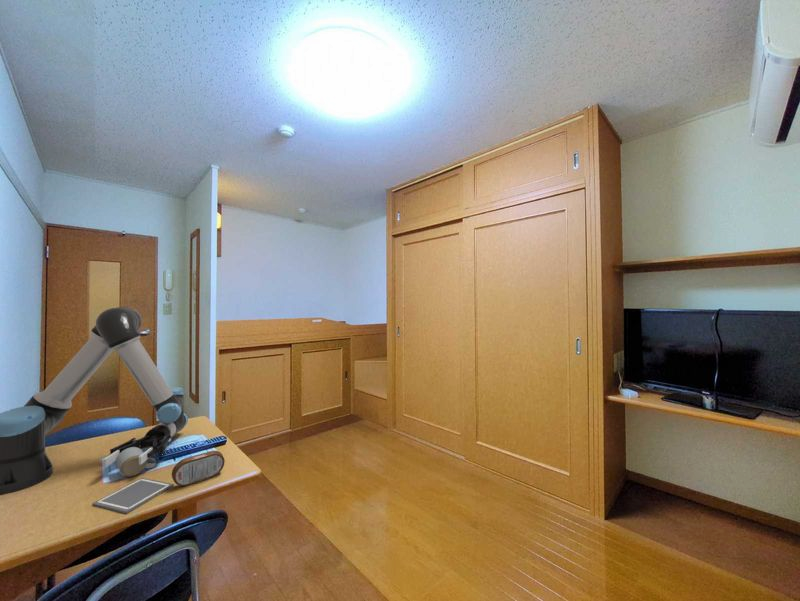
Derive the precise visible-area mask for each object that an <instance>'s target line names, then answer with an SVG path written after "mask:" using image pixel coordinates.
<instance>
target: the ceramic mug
mask: <svg viewBox="0 0 800 601" xmlns="http://www.w3.org/2000/svg"><path fill="white" fill-rule="evenodd" d="M143 453H144V451H143V450H142V449H140V448H137V447H131V448H127V449H125V450H123V451H122V452H121V453H120V454H119V455H118V457H117V459H116V461H115V465H116V467H117V469H118V470H119V473H120V474H121V475H122V476H124V477H134V476H136V475H139V473H141V472H142V471H143V470H144V469H152V468H154V467H155V466H156V464H157V461H156V460H155V459H154V458H152V457H150V458H149V459H147V460H146V461H145V462H144V463H142V464H140V465H139V456H140V455H141V454H143ZM150 463H151V464H150Z"/></svg>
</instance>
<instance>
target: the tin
mask: <svg viewBox="0 0 800 601" xmlns="http://www.w3.org/2000/svg"><path fill="white" fill-rule="evenodd" d="M224 466H225V458H224V455H223V453H222V452H220V451H218V450H210V451H207V452H203V453H199V454H195V455H192V456H188V457H185V458H183V459H181V460H179V461H178V462H177V463H175V465H174V467H173V468H172V471H171V478H172V480H173V482H174V484H176V485H177V486H180V487H181V486H182V487H183V486H185V487H187V486H189V485H192V484H195V483H198V482H201V481H204V480H208V479H211V478H213V477H216V476H217V475H218V474H219V473H220V472H222V470H223V468H224Z"/></svg>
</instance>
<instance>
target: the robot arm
mask: <svg viewBox="0 0 800 601" xmlns="http://www.w3.org/2000/svg"><path fill="white" fill-rule="evenodd" d="M141 325H142V318H141V315H140V313H139V312H138V311H137V310H135V309H132V308H131V307H127V306H119V307H118V306H117V307H111V308H107V309H106V310H103V311H102V312H101V313H100V314H99V315H98V316H97V318H96V320H95V325H94V327H92V329H91V330H90V332H91V337H90V338H89V339H88V340H87V341H86V343H84V344H83V346H82V347H81V348H80V349H79V350H78V351H77V353H76V354H75V355H74V356H73V357H72V358H71V360H70V361H69V362H68V363H67V364H66V365H65V366H64V367H63V369H61V371H60V372H59V373H58V374H57V375H56V377H54V379H53V380H52V381H51V382H50V383H49V384H48V386H47V387H46V388H45V389H44V390H43V391H39V392H35V393H34V394H33V395H32V396H31V397H30V399H29V400H28V401H27V402H26V403H25V404H24V405H23V406H20V407H15V408H12V409H9V410H5V411H2V412H1V413H0V495H3V493H4V494H8V492H9V493H13V492H16V491H19V490H20V491H21V490H24V489H27V488H30V487H32V486H34V485H36V484H39V483H41V482H43V481H45V480H47V479H48V478H49V477H51V476H52V475H53V473H54V467H53V464H52V461H51V460H50V459H49V456H48V455H47V453H46V436H45V435H47V434H48V433H49V432H50V431H52V430H53V429H54V428H55V427H56V426H58V425H60V423H61V422H62V421H63V419H64V417H65V415H66V414H67V413H68V411H70V409H71V408H72V406H73V403H72V400H73V399H74V397H75V396H76V395H77V393H79V391H80V390H81V389H82V388H83V387H84V386H85V384H86V383H87V382H88V381H89V379H90V378H91V377H92V376H93V375H94V374H95V373H96V371H97V370H98V369H99V368H100V366H102V364H103V363H104V362H105V361H106V360H107V358H108V357H109V356H110V355H111V353H113V352H114V351H115V352H116V353H117V355H118V356H119V358H120V359H121V361H122V362H123V363H124V366H126V368H127V370H128V372H130V374H131V375H132V377H133V378H134V380H135V381H136V383H137V384H138V387H139V388H140V389H141V390H142V392H143V394H144V395H145V397H146V398H147V400H148V401H149V402H150V404H151V405H152V407H153V408H154V410H155V412H156V418H157V419H158V421H159V423H158V424H156V425H155V426H153V427H152V428H151V429H149V430H148V431H147V432H146V433H145V435H144V436H143V437H141V438H139V439H136V437H133V438H130V439H129V440H128V441H126V442H123V443H121V444H119V445H117V446H115V447H113V448H111V449H109V452H110V453H109V454H108V455H107V456H106V457H105V458H103V460H102V461H103V468H107V467H109V466H110V465H111V464H113V463H115V462H116V459H117V457H118V455H119V454H120V453H121V452H122V451H123V450H125V449H127V448H131V447H137V448H140V449H141V450H142V449H144V448H148V447H149V448H148V449H147V450H146V451H143V454H141V455H140V456H139V465H140V464H142V463H144V462H145V461H146V460H147V459H149V458H152V457H153V456H154V455H157V454H164V453H165V451H166V450H167V448H168V446H169V444H171V443H172V437H173V436H175V435H176V434H178V433H179V432H180V431H182V430H183V429H184V428H185V427H186V426H187V425H188V422H189V417H188V416H187V414H186V413H185V411H184V401H185V400H184V399H185V398H184V395H185V394H184V389H183V387H180V386H179V387H178V386H177V387H176V386H175V387H170V386H169V385H168V383H167V382H166V380H165V378H164V377H163V375H162V374H161V372H160V371H159V369H158V368H157V366H156V364H155V362H154V361H153V360H152V358H151V357H150V355H149V353H148V352H147V350H146V348H145V347H144V345H143V344H142V342H141V341H140V338H141V334H140V333H139V331H138V330H140V328H141ZM51 474H52V475H51ZM50 475H51V476H50ZM46 478H47V479H46Z"/></svg>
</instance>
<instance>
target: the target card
mask: <svg viewBox="0 0 800 601" xmlns="http://www.w3.org/2000/svg"><path fill="white" fill-rule="evenodd" d="M174 487H175V483H170V482H165V481H160V480H154V479H152V478H151V479H150V478H146V477H145V478H144V477H141V478H138V479H137V480H134V481H132V482H131V483H129V484H126V485H125V486H123V487H121V488H118V489H117V490H115V491H113V492H111V493H110V494H108V495H105V496H104V497H102V498H100V499H97V500H96V501H94V502H93V503H91V505H92V506H94V507H99V508H101V507H102V509H106V510H109V509H110V511H112V512H113V511H114V512H118V513H122V514H124V515H125V514H126V515H128V514H129V513H131V512H132V511H134V510H136V509H138V508H140V507H141V506H143V505H144V504H146V503H148V502H149V500H150V501H151V500H153V499H155V498H156V497H158V496H159V495H158V494H160V493H161V494H163V493H164V491H165V492H166V491H168V490H170V489H172V488H174ZM169 488H170V489H169ZM167 489H168V490H167ZM162 492H163V493H162ZM161 494H160V495H161ZM157 495H158V496H157ZM155 496H156V497H155ZM154 497H155V498H154ZM152 498H153V499H152Z"/></svg>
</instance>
